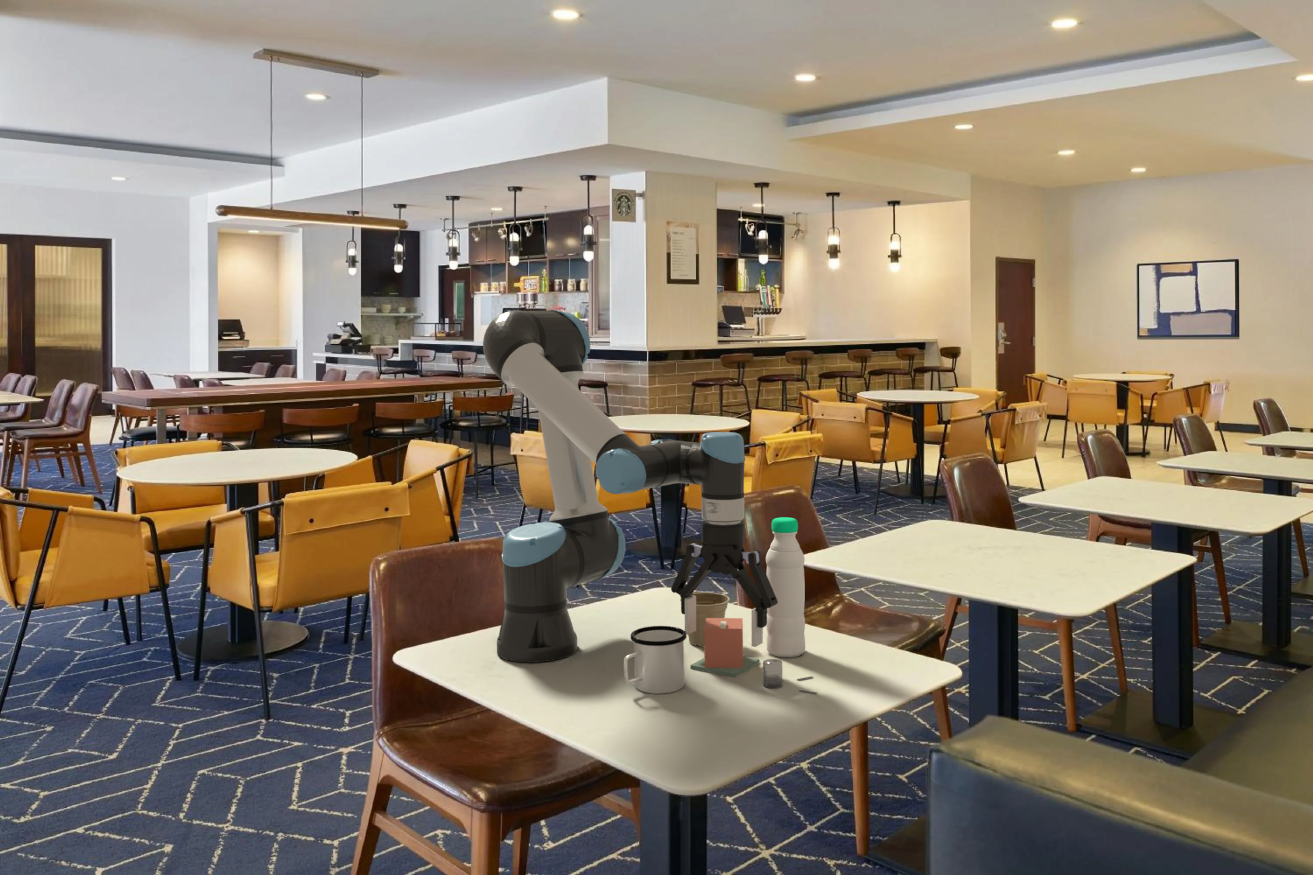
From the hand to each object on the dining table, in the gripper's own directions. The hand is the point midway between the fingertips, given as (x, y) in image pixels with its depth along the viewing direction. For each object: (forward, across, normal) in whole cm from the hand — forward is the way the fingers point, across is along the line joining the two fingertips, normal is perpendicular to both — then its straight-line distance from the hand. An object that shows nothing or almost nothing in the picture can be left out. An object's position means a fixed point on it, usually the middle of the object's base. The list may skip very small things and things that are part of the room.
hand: (723, 638), depth 182 cm
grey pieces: (+5, +16, -2) cm, 17 cm away
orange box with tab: (+4, 0, 0) cm, 4 cm away
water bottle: (+5, +6, +12) cm, 15 cm away
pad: (+5, 0, 0) cm, 5 cm away
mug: (+5, -4, -16) cm, 17 cm away
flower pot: (+5, -10, +10) cm, 15 cm away
